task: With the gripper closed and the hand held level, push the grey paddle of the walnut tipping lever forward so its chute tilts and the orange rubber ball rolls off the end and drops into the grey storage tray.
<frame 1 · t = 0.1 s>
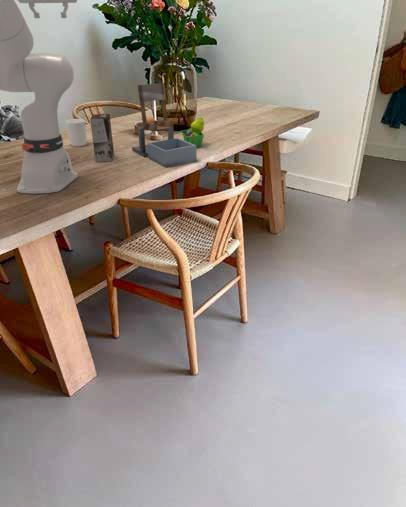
hand: (50, 18, 150), 48 cm above the table, tool pointing down, fingers open, 8 cm apart
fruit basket: (194, 145, 183), on the table
lever stand: (157, 152, 173), on the table
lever: (153, 107, 165), point 17 cm above the table, hinge at -8.0°, touching ball
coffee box: (105, 158, 167), on the table
grey storage tray: (172, 159, 164), on the table
white cup: (78, 144, 184), on the table
ball: (149, 121, 171), point 11 cm above the table, tilted 6°, touching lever
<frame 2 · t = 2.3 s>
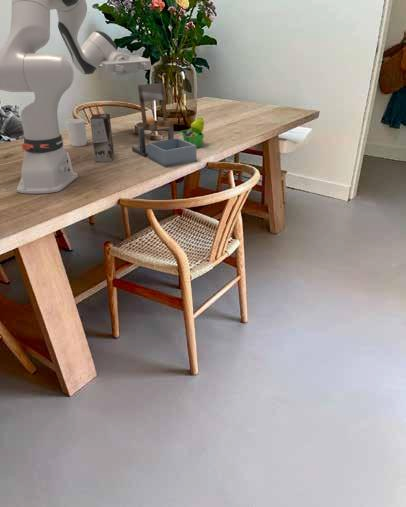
hand: (134, 67, 169), 30 cm above the table, tool horizontal, fingers open, 8 cm apart
nothing on the table moved.
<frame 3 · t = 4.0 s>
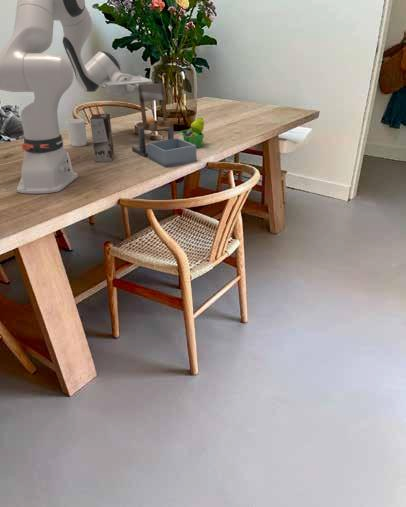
hand: (137, 88, 172), 23 cm above the table, tool horizontal, fingers closed
nothing on the table moved.
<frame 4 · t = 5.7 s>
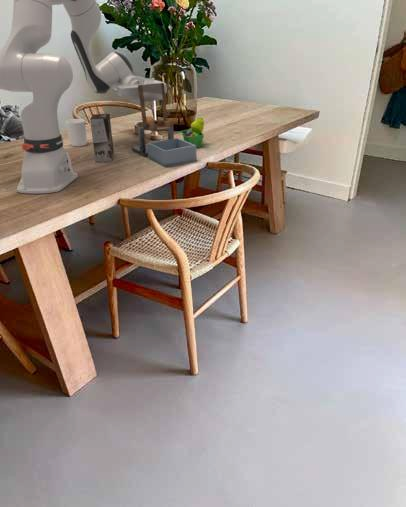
hand: (150, 92, 163), 23 cm above the table, tool horizontal, fingers closed, pressing on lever
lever: (153, 107, 165), point 17 cm above the table, hinge at -7.2°, touching ball, gripper
everything else where it was.
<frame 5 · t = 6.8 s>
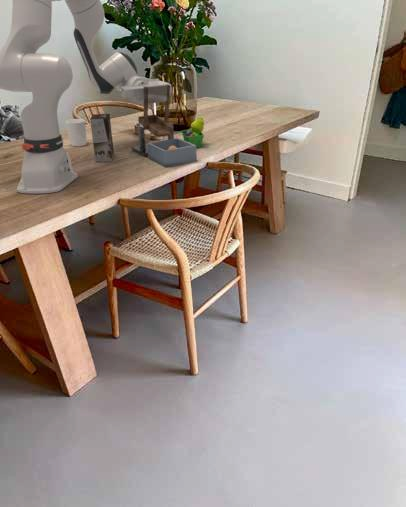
hand: (155, 93, 160), 23 cm above the table, tool horizontal, fingers closed, pressing on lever
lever: (155, 108, 164), point 18 cm above the table, hinge at 10.1°, touching gripper
ball: (172, 151, 162), point 4 cm above the table, tilted 162°
everything else where it was.
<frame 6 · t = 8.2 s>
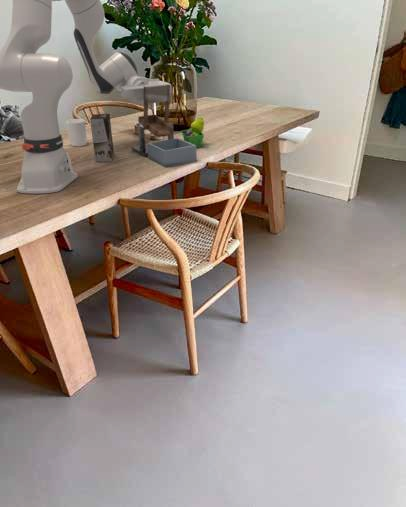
hand: (155, 93, 160), 23 cm above the table, tool horizontal, fingers closed
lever: (155, 108, 164), point 18 cm above the table, hinge at 10.2°
ball: (176, 154, 160), point 3 cm above the table, tilted 104°, touching grey storage tray
everything else where it was.
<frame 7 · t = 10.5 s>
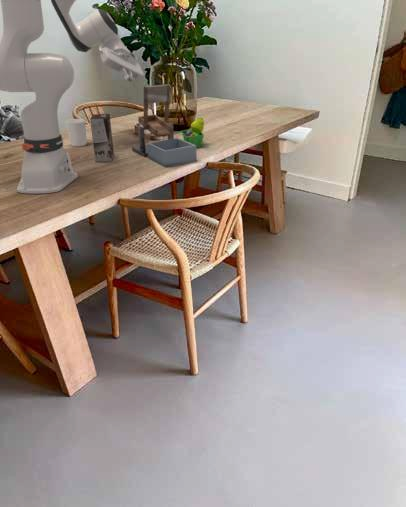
hand: (129, 79, 169), 26 cm above the table, tool tilted 50°, fingers closed
ball: (176, 154, 160), point 3 cm above the table, tilted 119°, touching grey storage tray
everything else where it was.
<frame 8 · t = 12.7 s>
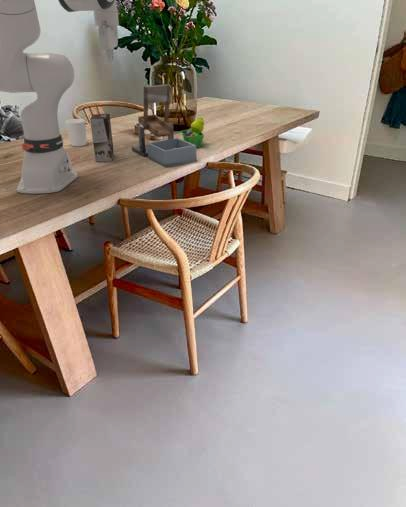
hand: (110, 61, 166), 33 cm above the table, tool pointing down, fingers closed
ball: (175, 153, 161), point 3 cm above the table, tilted 134°, touching grey storage tray
everything else where it was.
at the end: ball 2.7 cm from the grey storage tray (horizontally); ball point 3.0 cm above the table; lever at +10° (first picture: -8°) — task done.
